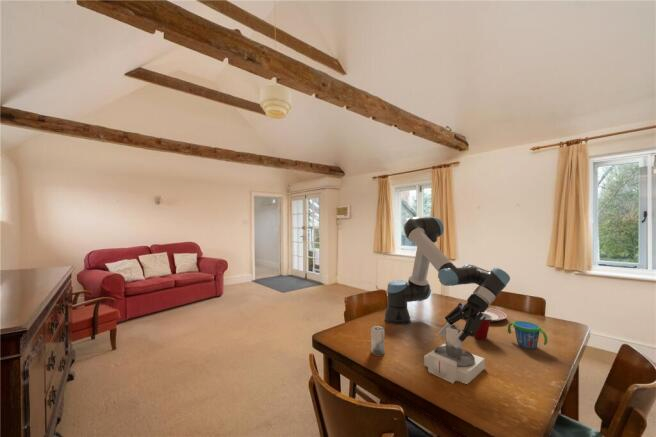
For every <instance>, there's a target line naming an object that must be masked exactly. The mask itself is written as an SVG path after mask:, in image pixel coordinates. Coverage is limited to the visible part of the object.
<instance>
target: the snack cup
mask: <svg viewBox="0 0 656 437" xmlns="http://www.w3.org/2000/svg"><path fill="white" fill-rule="evenodd" d="M511 326H513V328H514V332H515V338H516V343H517V345H519V346H520V347H521V348H525V349H529V350H531V349H532V350H534V349H537V348H538V342H539V336H540V333H541V334H542V335H543V338H544V340H543V341H544V342H543V345H544V346H546V345H547V344H548V336H547V334H546V332H545V331H544V330H543V329H542V328H541V326H540V325H538V324H536V323H533V322H531V321H525V320H524V321H523V320H515V321H513V322H511V323H509V324H508V327H507V333H508V334H512V330H511Z"/></svg>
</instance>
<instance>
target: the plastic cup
mask: <svg viewBox="0 0 656 437" xmlns="http://www.w3.org/2000/svg"><path fill="white" fill-rule="evenodd" d="M481 313H482V312H481ZM482 314H483V315H484V316H485V317H486V318H485V319H484V320H483V321H482V323H481V325H480V326H479V328H478V330H477V332H476V333H475V335H474V338H475V339H477V340H484V341H485V340H486V339H487V338H488V333H489V329H490V323H491V322H490V321H491V319H492V316H490V315H488V314H486V313H482Z"/></svg>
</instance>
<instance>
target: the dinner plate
mask: <svg viewBox="0 0 656 437" xmlns="http://www.w3.org/2000/svg"><path fill="white" fill-rule="evenodd" d="M462 313H463V312H462ZM482 313H486V314H488V315H490V316H492V319H491V321H490V323H491V322H498V321H499V322H500V321H502V320H505V319H506V318H507V314H506V313H505V312H503V311H502V310H498V309H495V308H493V307H492V308H491V307H488V308H487V309H486V310H485V312H482Z"/></svg>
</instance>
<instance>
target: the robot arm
mask: <svg viewBox="0 0 656 437" xmlns="http://www.w3.org/2000/svg"><path fill="white" fill-rule="evenodd" d="M444 228H445V227H444V223H443V222H442V220H441V219H440V218H438V217H435V216H414V217H410V218H409V219H408V220H406V222H405V224H404V228H403V230H404V234H405V236H406V238H407V240H408V241H410V242H411V243H414V245H415V246H416V252H415V257H414V262H413V268H412V274H411V276H409V277H408V279H407V280H408V282H407V281H406V280H402V279H400V280H399V279H397V280H392V281H389V282H388V284H387V288H386V291H387V307H386V310H385V314H384V320H385V321H386V322H387V323H389V324H394V325H400V326H401V325H407V324H410V323H411V316H410V312H409V309H408V303H411V302H421V301H426V300H428V299H429V298H430V297H431V292H432V289H431V285H430V284H429V281H428V280H427V278H428V277H427V276H428V273H429V267H430V264H431V265H432V266H433V267H434V269H435V270H436V272H437V278H438V279H439V280H438V281H439V282H440V284H441V285H443V286H445V287H449V286H450V287H451V286H453V287H454V286H461V285H471V284H472V285H473V284H476V285H478V286H477V287H476V288H475V289H474V291H473V292H472V294H470V295H469V296H468V298H467V300H466V301H467V302H466V303H465V304H462V302H459V303H458V304H457V305H456V307H455V308H454V309H452V310H451V311H450V312H449V313H448V314H447V315H445V317H444V319H445V323H444V324H443V325H442V327H441V329H440V330H438V332H437V334H438V336H439V337H440V338H442V339H443V338H444V337H446V326H447V325H454V324H455V323H457V322H458V321H460V320H462V319H465V318H466V321H465V325H464V327H463V329H462V331H460V332H459V334H458V335H457V336H456V337H455V338H454V340H453V341H452V342H451V344H452V345H453V346H454V347H455V348H457V347H458V346H459V345H460V343H461V342H462V343H463V342H464V341H465V340H466V339H467V338H468V337H469V336H470V337H471V338H473V337H474V335H475V333H476V332H477V330H478V328H479V326H480V325H481V323H482V321H483V320H484V319H485V318H486V317H485V316H484V315H483V314H482V313H481V312H485V310H486V309H487V308H490V307H489V306H490V305H492V303H493V302H494V301H495V299H497V297H498V295H499V294H500V293H501V292H502V291H503V290H504V289H505V288H506V287H507V285H508V283H510V280H511V276H510V275H509V273H507V272H506V271H505V270H503V269H501V268H499V267H494V268H492V269H490V271H489V270H487V269H484V268H481V267H478V266H477V265H474V264H469V263H466V264H464V265H463V266H462V267H456V265H455V264H453V262H452V261H451V260H450V259H449V258H448V257H447V256H446V255H445V254H444V253H443V252H442V250H440V248H438V246H437V245H436V244H435V243H437V242H438V238H439V237H441V236H442V235H443V234H444V231H445V229H444ZM462 312H463V313H462ZM474 338H475V337H474Z"/></svg>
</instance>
